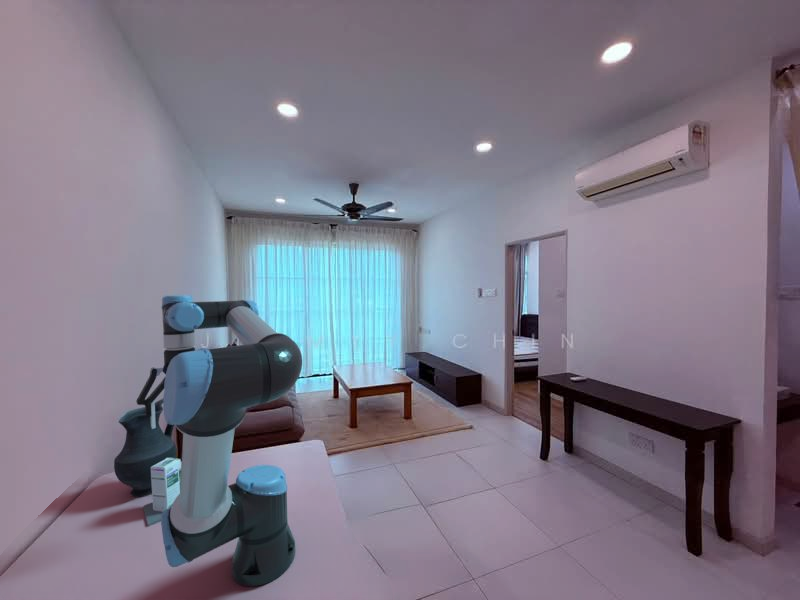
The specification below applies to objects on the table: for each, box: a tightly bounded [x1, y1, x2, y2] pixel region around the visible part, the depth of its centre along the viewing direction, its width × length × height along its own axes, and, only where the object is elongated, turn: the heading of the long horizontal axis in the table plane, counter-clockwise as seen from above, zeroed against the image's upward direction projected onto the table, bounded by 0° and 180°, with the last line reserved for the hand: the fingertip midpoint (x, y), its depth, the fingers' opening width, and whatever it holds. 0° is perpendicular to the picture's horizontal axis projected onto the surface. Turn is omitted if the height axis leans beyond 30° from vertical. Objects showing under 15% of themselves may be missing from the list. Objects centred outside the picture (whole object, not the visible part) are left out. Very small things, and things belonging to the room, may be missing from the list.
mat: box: [142, 501, 162, 527], centre depth 103 cm, size 12×12×1 cm
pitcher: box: [113, 398, 177, 498], centre depth 115 cm, size 17×21×30 cm
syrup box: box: [151, 457, 182, 512], centre depth 103 cm, size 6×6×14 cm
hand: (182, 419), depth 92 cm, fingers open, 13 cm apart
